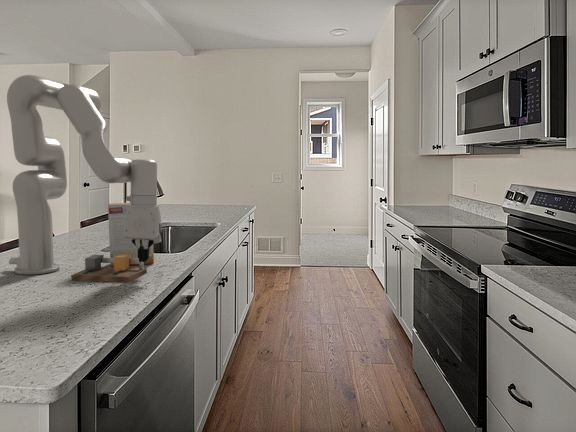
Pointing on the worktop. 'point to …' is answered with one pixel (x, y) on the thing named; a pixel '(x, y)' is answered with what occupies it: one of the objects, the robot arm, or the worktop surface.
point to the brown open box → (110, 275)
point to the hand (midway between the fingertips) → (143, 261)
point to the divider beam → (95, 262)
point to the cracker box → (122, 234)
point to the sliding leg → (121, 262)
